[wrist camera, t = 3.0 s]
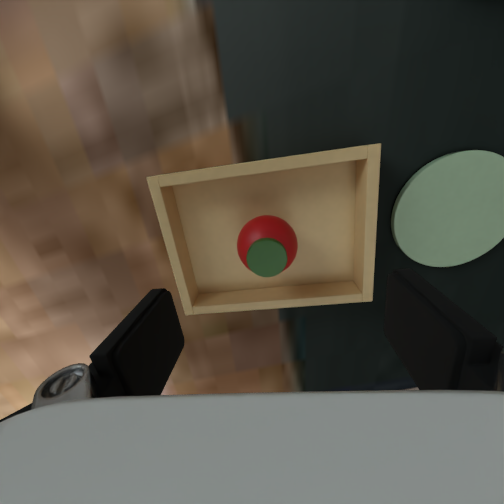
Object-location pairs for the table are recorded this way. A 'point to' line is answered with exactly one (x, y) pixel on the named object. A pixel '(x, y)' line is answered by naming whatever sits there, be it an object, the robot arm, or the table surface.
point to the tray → (285, 207)
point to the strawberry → (267, 245)
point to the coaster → (451, 209)
